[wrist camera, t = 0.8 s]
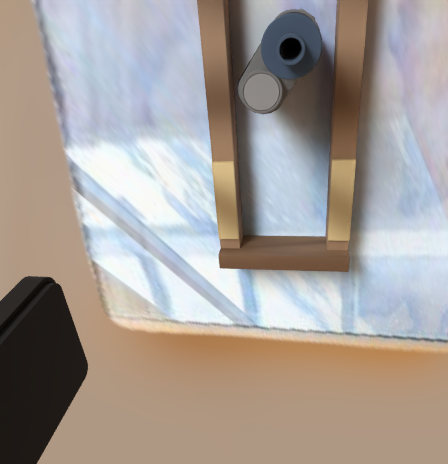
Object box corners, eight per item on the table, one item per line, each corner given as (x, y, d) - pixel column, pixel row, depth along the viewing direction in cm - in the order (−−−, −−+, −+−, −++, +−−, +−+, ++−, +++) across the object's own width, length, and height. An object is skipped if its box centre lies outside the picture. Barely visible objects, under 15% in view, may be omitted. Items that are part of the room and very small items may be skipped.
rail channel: (192, -132, 22) (178, -150, 19) (375, -160, 20) (386, -184, 18) (226, 247, 34) (219, 268, 31) (344, 250, 32) (348, 271, 29)
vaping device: (324, 23, 25) (341, 37, 14) (275, 99, 27) (261, 156, 17) (289, -2, 24) (280, -5, 14) (243, 77, 27) (208, 123, 17)
